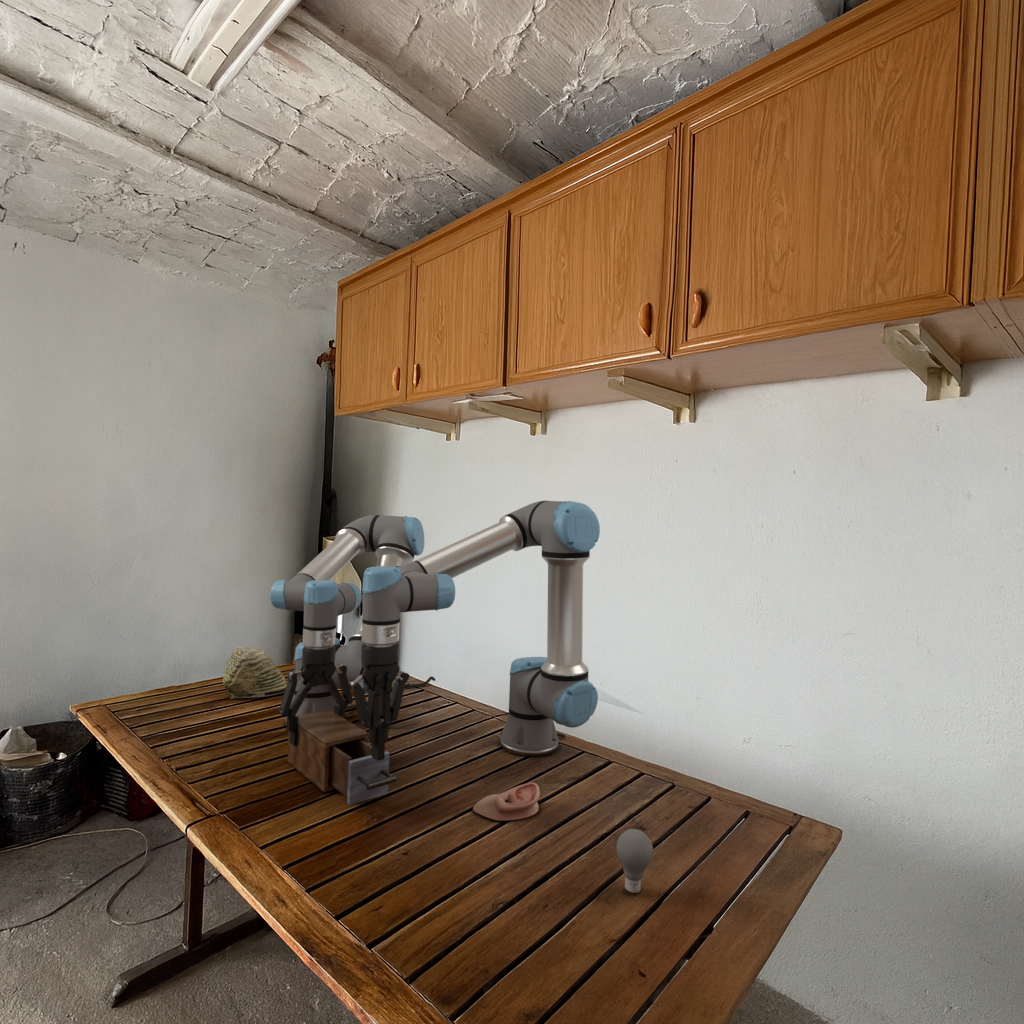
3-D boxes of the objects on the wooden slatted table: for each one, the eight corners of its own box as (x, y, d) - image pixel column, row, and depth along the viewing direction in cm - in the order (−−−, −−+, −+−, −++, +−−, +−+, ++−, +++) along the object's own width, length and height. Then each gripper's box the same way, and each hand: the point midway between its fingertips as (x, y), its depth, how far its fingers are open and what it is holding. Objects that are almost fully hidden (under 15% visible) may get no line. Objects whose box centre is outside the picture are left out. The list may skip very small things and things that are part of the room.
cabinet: (366, 779, 142) (368, 732, 142) (324, 792, 135) (325, 742, 135) (327, 751, 157) (329, 709, 157) (287, 761, 150) (288, 717, 150)
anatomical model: (469, 797, 128) (483, 773, 139) (468, 816, 128) (482, 791, 139) (534, 806, 125) (543, 781, 136) (533, 826, 125) (542, 799, 136)
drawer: (401, 803, 130) (403, 760, 130) (362, 815, 124) (363, 771, 124) (347, 764, 148) (348, 727, 148) (310, 773, 142) (311, 735, 142)
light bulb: (610, 879, 108) (613, 822, 108) (644, 879, 109) (647, 822, 109) (619, 902, 102) (622, 840, 102) (655, 901, 103) (658, 840, 103)
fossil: (218, 695, 195) (220, 647, 195) (278, 685, 208) (279, 640, 207) (228, 703, 189) (230, 653, 188) (289, 692, 201) (290, 645, 201)
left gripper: (277, 655, 140) (274, 755, 140) (369, 643, 155) (366, 733, 155) (265, 648, 146) (261, 744, 146) (355, 637, 161) (352, 724, 161)
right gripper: (360, 651, 122) (357, 772, 122) (417, 642, 130) (415, 755, 131) (342, 643, 127) (339, 759, 128) (398, 635, 136) (396, 744, 136)
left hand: (315, 738), depth 151 cm, fingers closed on cabinet, 10 cm apart
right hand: (377, 757), depth 129 cm, fingers closed
